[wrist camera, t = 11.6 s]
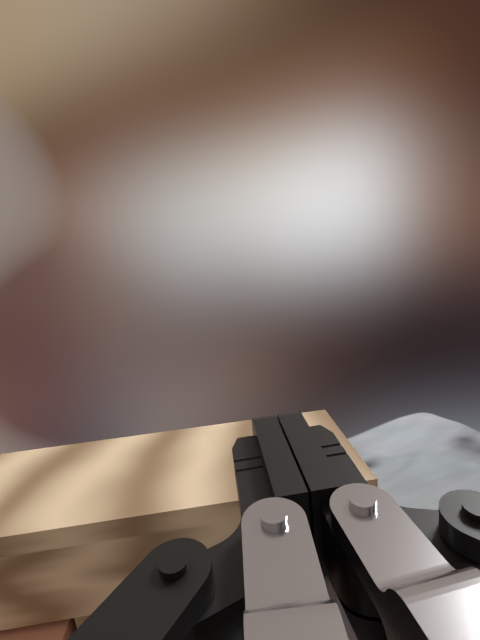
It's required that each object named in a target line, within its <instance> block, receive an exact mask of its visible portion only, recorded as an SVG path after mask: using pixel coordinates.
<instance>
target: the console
mask: <svg viewBox="0 0 480 640" xmlns="http://www.w3.org/2000/svg"><path fill="white" fill-rule="evenodd" d="M302 415H303V416H304V418H305V420H306V422H307V423H308V425H309V427H310V426H316V425H321V426H323V427H325V428H326V429H328V430H330V431H331V432H333V433H334V435H335V436H336V438H337V439H338V440H339V442H340V444H341V445H342V446H343V448H344V449H345V451H346V453H347V454H348V455H349V457H350V458H351V460H352V461H353V462H354V464H355V465H356V467H357V468H358V470H359V471H360V473H361V474H362V476H363V477H364V479H365V480H366V482H367V483H368V484H369V485H372V486H375V487H377V478H376V477H375V475H374V474H373V473H372V471H371V470H370V469H369V467H368V466H367V465H366V463H365V462H364V461H363V459H362V458H361V457H360V456H359V454H358V453H357V452H356V450H355V449H354V448H353V446H352V445H351V444H350V442H349V441H348V440H347V438H346V437H345V436H344V434H343V433H342V432H341V430H340V429H339V428H338V426H337V425H336V424H335V422H334V421H333V420H332V419H331V417H330V416H329V415H328V413H327V412H326V411H325V410H320V411H312V412H305V413H302ZM247 436H253V432H252V420H247V421H239V422H232V423H224V424H217V425H210V426H203V427H195V428H188V429H181V430H173V431H166V432H159V433H151V434H144V435H138V436H130V437H123V438H115V439H108V440H100V441H93V442H86V443H78V444H71V445H65V446H57V447H50V448H42V449H35V450H27V451H20V452H13V453H6V454H0V631H2V630H7V629H13V628H19V627H25V626H30V625H36V624H42V623H48V622H53V621H59V620H65V619H70V618H75V623H76V627H77V629H78V628H79V626H80V625H81V624H82V623H83V622H84V621H85V620H86V619H87V618H88V617H89V616H90V615H91V614H92V613H93V612H94V611H95V610H96V609H97V607H98V606H99V605H100V604H101V603H102V602H103V601H104V600H105V599H106V598H107V597H108V596H109V595H110V594H111V593H112V592H113V591H114V590H115V588H116V587H117V586H118V585H119V584H120V583H121V582H122V581H123V580H124V579H125V578H126V577H127V576H128V575H129V574H130V573H131V572H132V571H133V569H134V568H135V567H136V566H137V565H138V564H139V563H140V562H141V561H142V560H143V559H144V558H145V557H146V556H147V555H148V554H149V553H150V552H151V551H152V550H153V549H154V548H156V547H157V546H159V545H160V544H162V543H164V542H167V541H169V540H172V539H177V538H191V539H195V540H198V541H199V542H201V543H202V544H204V545H205V546H206V548H207V549H208V548H210V547H212V546H214V545H216V544H219V543H220V542H222V541H224V540H225V539H227V538H228V537H229V536H230V535H231V534H233V533H234V531H235V530H236V529H237V527H238V525H239V524H240V521H241V513H240V507H239V500H238V494H237V486H236V478H235V470H234V462H233V454H232V448H233V446H234V444H235V442H236V440H237V438H240V437H247ZM328 577H329V579H330V582H331V584H332V587H333V589H334V592H335V587H334V585H333V582H332V580H331V577H330V576H328ZM346 633H347V632H346ZM347 636H348V634H347ZM348 640H350V639H349V637H348Z"/></svg>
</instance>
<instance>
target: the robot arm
mask: <svg viewBox="0 0 480 640" xmlns="http://www.w3.org/2000/svg"><path fill="white" fill-rule="evenodd" d="M252 432H253V436H247V437H240V438H237V440H236V442H235V444H234V446H233V448H232V454H233V462H234V470H235V478H236V486H237V494H238V500H239V507H240V513H241V521H240V524H239V525H238V527H237V529H236V530H235V531H234V533H233V534H231V535H230V536H229V537H228V538H227V539H225V540H224V541H222V542H220V543H219V544H216V545H214V546H212V547H210V548H208V549H207V548H206V546H205V545H204V544H202V543H201V542H199V541H198V540H195V539H191V538H177V539H172V540H169V541H167V542H164V543H162V544H160V545H159V546H157V547H156V548H154V549H153V550H152V551H151V552H150V553H149V554H148V555H147V556H146V557H145V558H144V559H143V560H142V561H141V562H140V563H139V564H138V565H137V566H136V567H135V568H134V569H133V571H132V572H131V573H130V574H129V575H128V576H127V577H126V578H125V579H124V580H123V581H122V582H121V583H120V584H119V585H118V586H117V587H116V588H115V590H114V591H113V592H112V593H111V594H110V595H109V596H108V597H107V598H106V599H105V600H104V601H103V602H102V603H101V604H100V605H99V606H98V607H97V609H96V610H95V611H94V612H93V613H92V614H91V615H90V616H89V617H88V618H87V619H86V620H85V621H84V622H83V623H82V624H81V625H80V626H79V628H78V629H77V630H76V631H75V632H74V633H73V634H72V635H71V636H70V637H69V638H68V639H67V640H348V637H349V639H350V640H480V492H477V491H472V490H455V491H451V492H448V493H446V494H445V495H443V496H442V498H441V499H440V501H439V510H428V509H415V508H406V507H402V506H399V505H398V504H397V503H396V501H395V500H394V499H393V498H392V497H391V496H390V495H389V494H388V493H387V492H385V491H384V490H382V489H380V488H378V487H375V486H372V485H369V484H368V483H367V482H366V480H365V479H364V477H363V476H362V474H361V473H360V471H359V470H358V468H357V467H356V465H355V464H354V462H353V461H352V460H351V458H350V457H349V455H348V454H347V453H346V451H345V449H344V448H343V446H342V445H341V444H340V442H339V440H338V439H337V438H336V436H335V435H334V433H333V432H331V431H330V430H328V429H326V428H325V427H323V426H321V425H316V426H310V427H309V425H308V423H307V422H306V420H305V418H304V416H303V415H302V413H301V412H300V411H299V412H292V413H286V414H279V415H277V416H275V415H273V416H266V417H260V418H253V419H252ZM328 576H330V577H331V580H332V582H333V585H334V587H335V600H334V599H332V600H330V598H329V595H328V591H327V588H326V584H325V580H324V577H328ZM346 632H347V633H346ZM347 634H348V636H347Z"/></svg>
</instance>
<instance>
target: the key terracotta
mask: <svg viewBox="0 0 480 640" xmlns="http://www.w3.org/2000/svg"><path fill="white" fill-rule="evenodd" d="M76 630H77V627H76V623H75V618H70V619H65V620H59V621H53V622H48V623H42V624H36V625H30V626H25V627H19V628H13V629H7V630H2V631H0V640H67V639H68V638H69V637H70V636H71V635H72V634H73V633H74V632H75V631H76Z"/></svg>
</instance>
